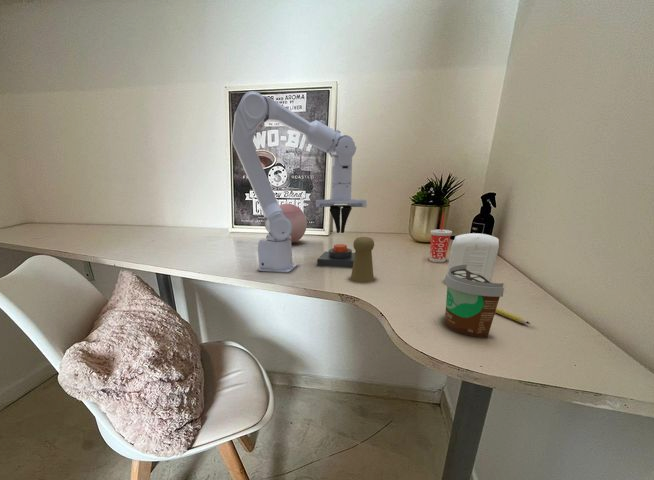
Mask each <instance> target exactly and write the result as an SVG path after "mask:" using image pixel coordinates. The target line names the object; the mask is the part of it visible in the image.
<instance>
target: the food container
mask: <svg viewBox="0 0 654 480" xmlns="http://www.w3.org/2000/svg"><path fill="white" fill-rule="evenodd" d="M466 268H467V265H458V266H454V267H451V268H450V269H449V271H448V270H447V271H448V272H446V274H445V277H444V279H443V283H444V284H445V285H446V286H447V287H446V299H445V314H444V325H445V326H446V327H447V328H448V329H450V330H452V331H453V332H456V333H459V334H461V335H465V336H469V337H479V338H488V337H489V335H490V334H489V333H490V331H491V327H492V324H493V321H494V317H495V314H496V312H495V311H496V308H498V305H499V301H500V298H503V297H504V289H505V288H504V282H499V283H498V282H491V283H490V282H489V281H488V280H487V279H486V278H484V277H483V276H481V275H477V274H474V273H471V272H469V271H468V270H466Z"/></svg>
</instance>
